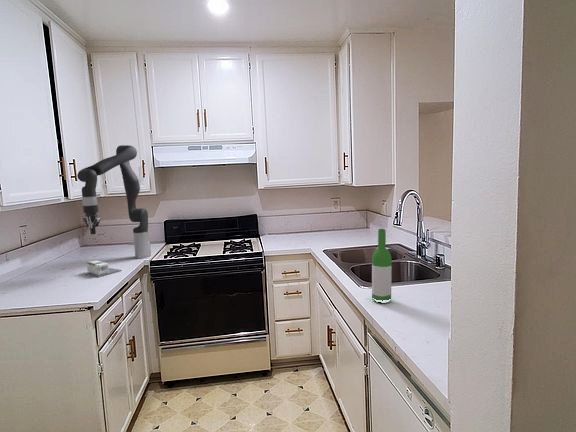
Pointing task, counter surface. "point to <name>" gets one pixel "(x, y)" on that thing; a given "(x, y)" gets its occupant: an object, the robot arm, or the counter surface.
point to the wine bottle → (381, 269)
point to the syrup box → (97, 267)
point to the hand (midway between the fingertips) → (93, 234)
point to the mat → (104, 274)
